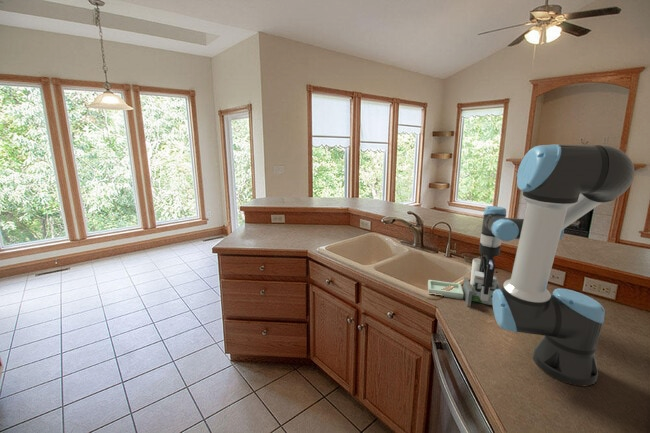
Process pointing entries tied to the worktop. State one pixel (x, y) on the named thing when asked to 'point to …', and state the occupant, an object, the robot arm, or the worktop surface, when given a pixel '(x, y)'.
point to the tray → (438, 285)
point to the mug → (474, 268)
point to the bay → (468, 291)
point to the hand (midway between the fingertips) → (482, 296)
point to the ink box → (478, 288)
